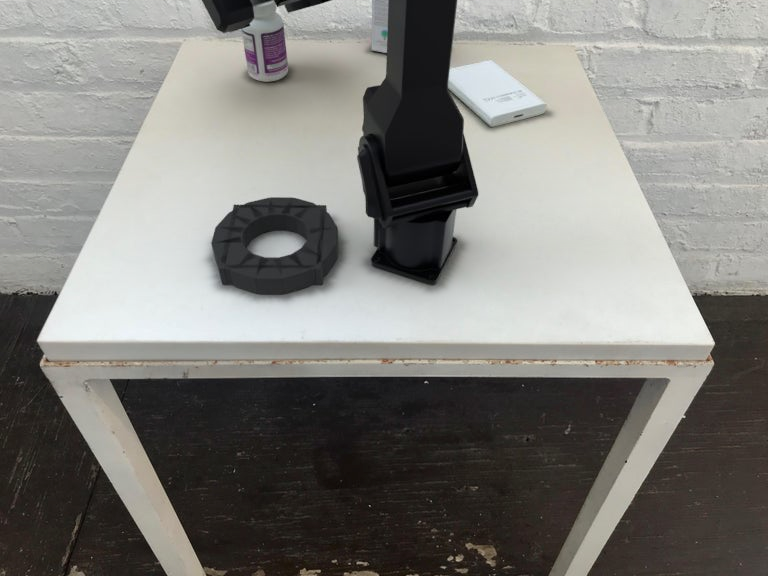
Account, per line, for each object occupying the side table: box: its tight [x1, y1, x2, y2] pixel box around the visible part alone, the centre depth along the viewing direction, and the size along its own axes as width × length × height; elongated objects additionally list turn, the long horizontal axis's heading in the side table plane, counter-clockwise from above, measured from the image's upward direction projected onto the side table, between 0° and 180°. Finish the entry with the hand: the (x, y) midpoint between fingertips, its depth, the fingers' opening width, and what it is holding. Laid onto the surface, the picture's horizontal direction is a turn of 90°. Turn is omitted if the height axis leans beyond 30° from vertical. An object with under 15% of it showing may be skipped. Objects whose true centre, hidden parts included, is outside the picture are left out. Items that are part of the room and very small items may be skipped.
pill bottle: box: [240, 1, 289, 83], centre depth 80 cm, size 5×5×10 cm
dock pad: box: [210, 196, 339, 295], centre depth 58 cm, size 11×11×2 cm
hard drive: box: [448, 59, 548, 128], centre depth 79 cm, size 2×8×12 cm
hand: (257, 18), depth 79 cm, fingers open, 9 cm apart
